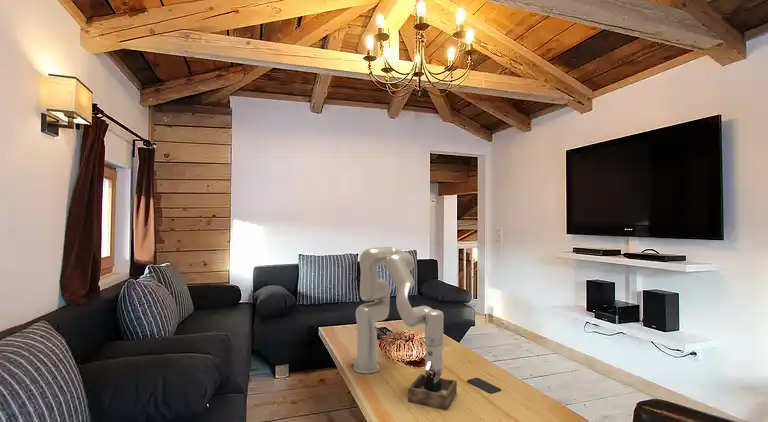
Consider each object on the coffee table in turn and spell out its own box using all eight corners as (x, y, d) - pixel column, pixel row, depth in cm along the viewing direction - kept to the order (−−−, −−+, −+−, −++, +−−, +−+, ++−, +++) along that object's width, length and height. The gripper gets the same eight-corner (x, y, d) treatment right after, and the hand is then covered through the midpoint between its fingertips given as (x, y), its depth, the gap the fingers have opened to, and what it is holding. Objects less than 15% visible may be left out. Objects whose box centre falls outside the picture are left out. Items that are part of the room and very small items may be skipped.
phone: (490, 393, 176) (465, 380, 189) (490, 395, 176) (465, 382, 189) (502, 389, 180) (477, 377, 193) (502, 391, 180) (477, 378, 193)
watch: (444, 389, 173) (444, 362, 173) (431, 394, 167) (431, 367, 167) (433, 384, 177) (434, 359, 177) (421, 389, 172) (421, 363, 172)
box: (408, 401, 168) (408, 388, 168) (420, 386, 183) (420, 373, 183) (446, 410, 162) (446, 396, 162) (456, 393, 176) (456, 380, 176)
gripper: (436, 348, 163) (435, 392, 163) (448, 335, 178) (447, 376, 179) (418, 345, 166) (417, 388, 166) (431, 333, 181) (430, 373, 182)
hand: (432, 382), depth 172 cm, fingers closed on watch, 8 cm apart
